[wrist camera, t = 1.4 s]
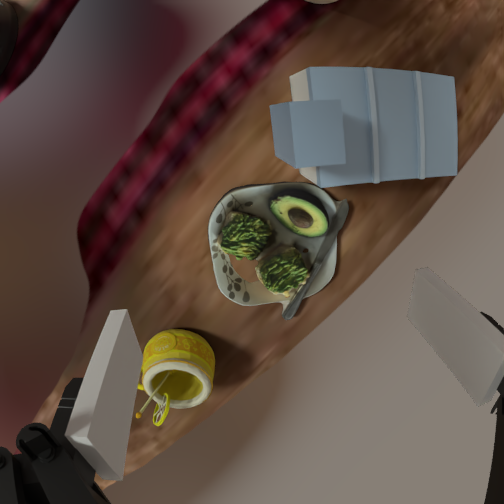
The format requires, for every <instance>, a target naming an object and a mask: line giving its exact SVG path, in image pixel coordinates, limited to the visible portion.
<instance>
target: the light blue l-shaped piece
mask: <svg viewBox="0 0 504 504" xmlns="http://www.w3.org/2000/svg"><path fill="white" fill-rule="evenodd" d="M306 74H307V82H308V90H309V99H310V101H294V102H286V103H280V104H275V105H270V113H271V122H272V130H273V139H274V148H275V156H277V157H278V158H280V159H281V160H283V161H285V162H286V163H288V164H289V165H291V166H293V167H294V168H296V169H297V168H305V167H315V166H316V175H317V186H319V187H320V188H324V187H333V186H341V185H351V184H360V183H370V182H372V183H380V181H390V180H402V179H414V178H419V179H425V178H426V177H440V176H456V175H457V161H458V136H457V109H456V94H455V82H454V77H452V76H446V75H439V74H432V73H424V72H420V71H406V70H395V69H382V68H372V67H364V68H363V67H309V68H306Z"/></svg>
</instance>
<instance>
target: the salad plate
mask: <svg viewBox="0 0 504 504" xmlns="http://www.w3.org/2000/svg"><path fill="white" fill-rule="evenodd" d="M251 205H252V206H251ZM348 210H349V205H348V203H347V199H344V200H342V201H335V200H334V199H333V198H331V197H330V195H328V194H327V193H326V192H325V191H324V190H323V189H321V188H320V187H317V186H316V185H314V184H311V183H305V182H279V183H268V184H250V185H245V186H240V187H236V188H233V189H231V190H229V191H228V192H227V193H226V194H225V195H224V196H223V197H222V198H221V199H220V200H219V202H218V203H217V204H216V206H215V207H214V209H213V211H212V213H211V215H210V219H209V224H208V240H209V244H210V249H211V256H212V261H213V268H214V272H215V277H216V281H217V284H218V288H219V289H220V291H221V292H222V293H223V294H224V295H225V296H226V297H227V298H229V299H230V300H232V301H234V302H236V303H237V304H240V305H245V306H253V305H260V304H267V303H274V302H280V303H282V304H283V312H282V317H283V318H284V319H285V320H290V319H292V318H293V316H294V315H295V313H296V311H297V309H298V307H299V305H300V303H301V301H302V299H303V298H306V297H308V296H311V295H313V294H315V293H317V292H318V291H320V290H321V289H322V288H323V287H324V286H325V285H326V284H327V283H328V282H329V281H330V280H331V278H332V276H333V274H334V272H335V266H336V251H337V234H338V231H339V230H340V229H341V228H342V226H343V224H344V222H345V219H346V217H347V214H348ZM305 248H308V249H309V251H308V252H307V253H303V250H304V249H305ZM229 254H232V255H235V256H236V259H237V260H242V258H243V257H246V258H247V259H248V260H253V259H255V260H257V261H258V265H257V266H256V267H255V269H256V273H257V276H258V278H259V280H258V281H255V282H252V283H249V282H247V281H246V280H244V279H243V278H241V277H240V275H238V274H237V273H236V272H235V270H234V269H233V266H232V264H231V263H230V259H229V256H228V255H229Z"/></svg>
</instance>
